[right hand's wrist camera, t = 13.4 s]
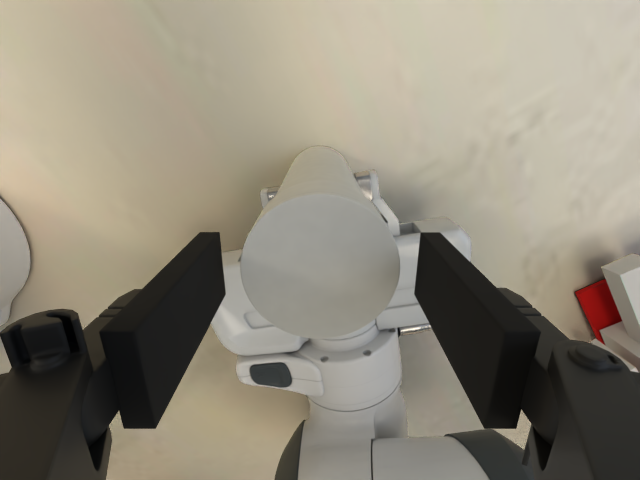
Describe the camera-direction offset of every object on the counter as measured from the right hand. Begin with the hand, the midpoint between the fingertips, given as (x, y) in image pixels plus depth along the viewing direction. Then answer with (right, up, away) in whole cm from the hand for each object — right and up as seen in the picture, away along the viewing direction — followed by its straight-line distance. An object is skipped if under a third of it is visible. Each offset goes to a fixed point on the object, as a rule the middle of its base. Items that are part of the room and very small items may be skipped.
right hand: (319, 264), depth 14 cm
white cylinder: (0, 0, -1) cm, 1 cm away
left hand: (0, +5, +10) cm, 12 cm away
